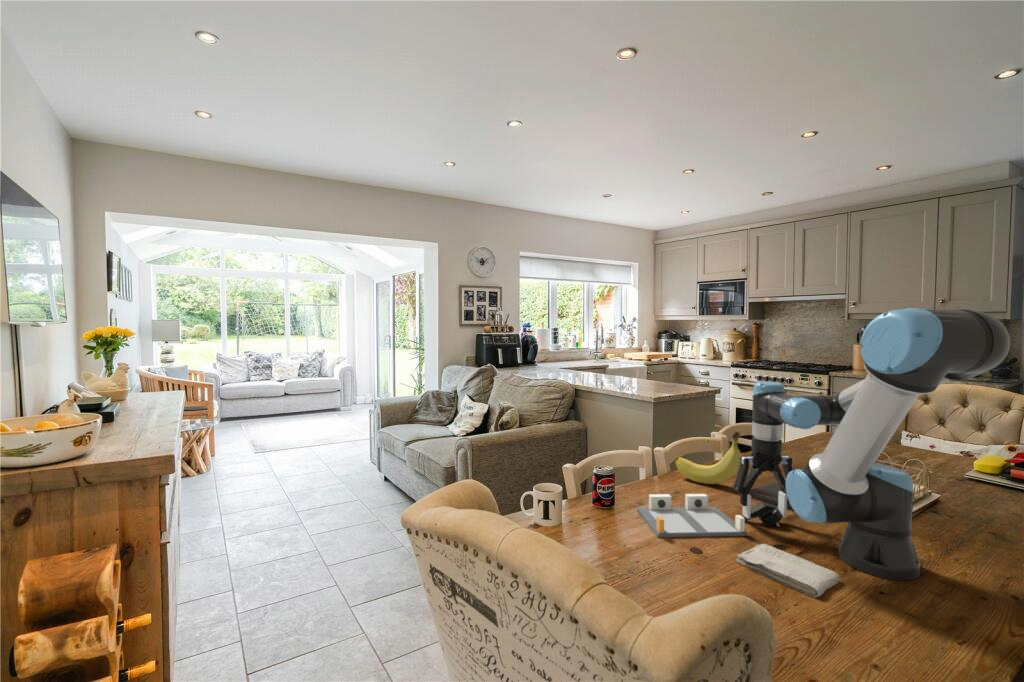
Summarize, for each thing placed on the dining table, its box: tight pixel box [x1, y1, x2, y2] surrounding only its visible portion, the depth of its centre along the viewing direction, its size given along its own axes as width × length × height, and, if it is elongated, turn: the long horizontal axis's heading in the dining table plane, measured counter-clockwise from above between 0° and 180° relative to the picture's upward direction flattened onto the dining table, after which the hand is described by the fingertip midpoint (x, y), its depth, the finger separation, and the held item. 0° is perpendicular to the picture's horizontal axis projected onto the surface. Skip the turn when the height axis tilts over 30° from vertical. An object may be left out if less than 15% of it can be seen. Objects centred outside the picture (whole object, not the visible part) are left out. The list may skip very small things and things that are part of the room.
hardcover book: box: [748, 481, 794, 512], centre depth 148 cm, size 16×23×2 cm
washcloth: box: [736, 543, 841, 598], centre depth 107 cm, size 12×18×3 cm, turn 36°
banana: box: [674, 430, 743, 485], centre depth 165 cm, size 23×6×20 cm, turn 47°
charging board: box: [636, 493, 748, 538], centre depth 133 cm, size 17×24×5 cm
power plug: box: [741, 502, 783, 527], centre depth 133 cm, size 6×8×12 cm
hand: (764, 516), depth 133 cm, fingers open, 10 cm apart
